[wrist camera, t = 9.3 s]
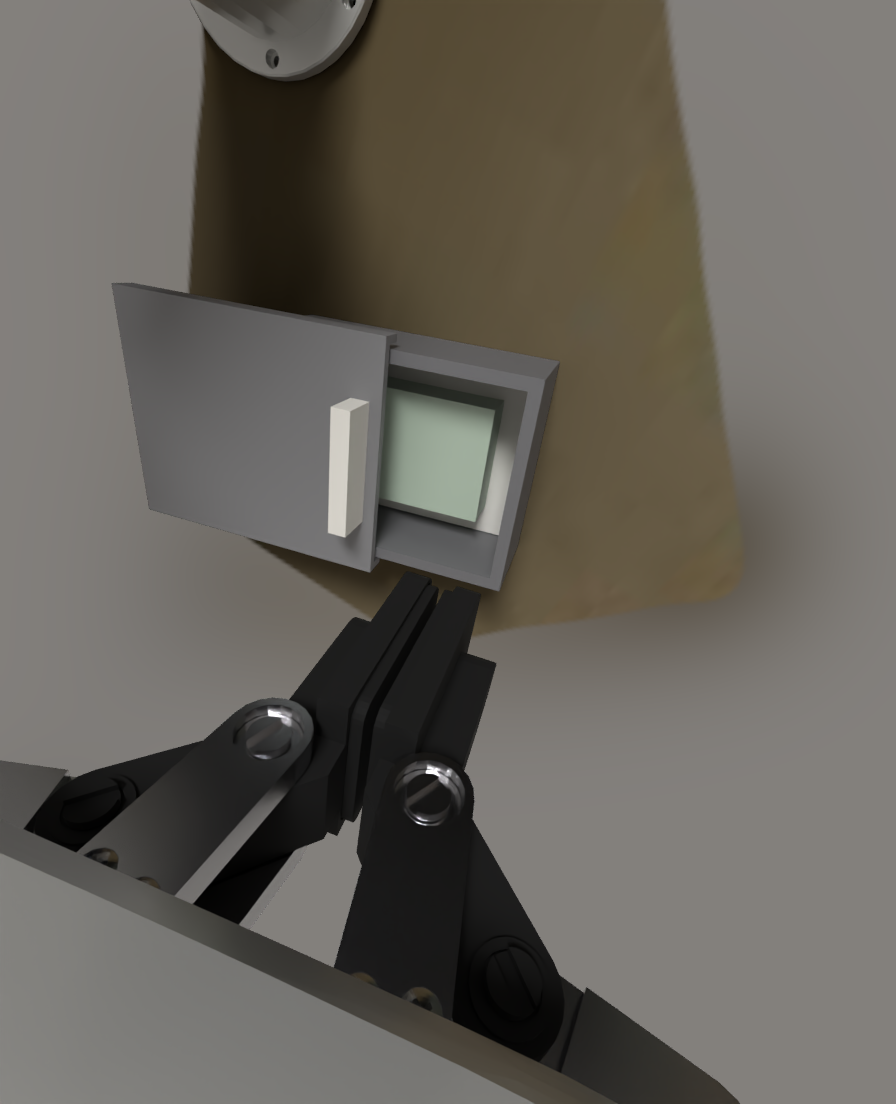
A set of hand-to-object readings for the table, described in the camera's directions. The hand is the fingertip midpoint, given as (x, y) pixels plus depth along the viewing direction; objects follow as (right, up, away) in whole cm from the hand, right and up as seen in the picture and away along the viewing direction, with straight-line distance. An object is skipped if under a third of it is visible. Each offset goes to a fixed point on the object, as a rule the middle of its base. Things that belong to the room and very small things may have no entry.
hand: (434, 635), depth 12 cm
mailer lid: (-12, +10, +25) cm, 29 cm away
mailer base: (-2, +11, +28) cm, 30 cm away
